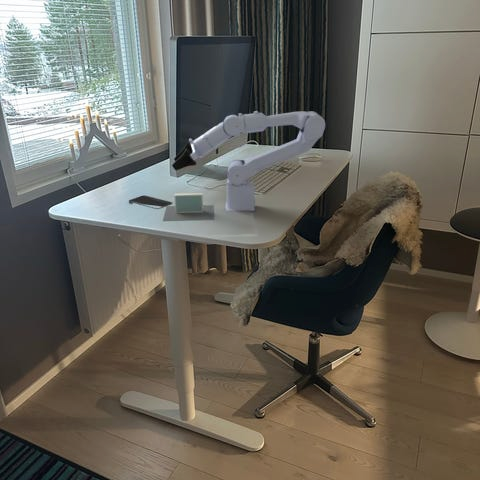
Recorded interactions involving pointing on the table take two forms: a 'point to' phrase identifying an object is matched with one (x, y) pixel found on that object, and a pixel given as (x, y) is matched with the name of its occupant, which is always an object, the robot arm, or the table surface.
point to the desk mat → (189, 214)
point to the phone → (150, 201)
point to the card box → (188, 202)
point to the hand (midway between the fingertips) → (174, 164)
